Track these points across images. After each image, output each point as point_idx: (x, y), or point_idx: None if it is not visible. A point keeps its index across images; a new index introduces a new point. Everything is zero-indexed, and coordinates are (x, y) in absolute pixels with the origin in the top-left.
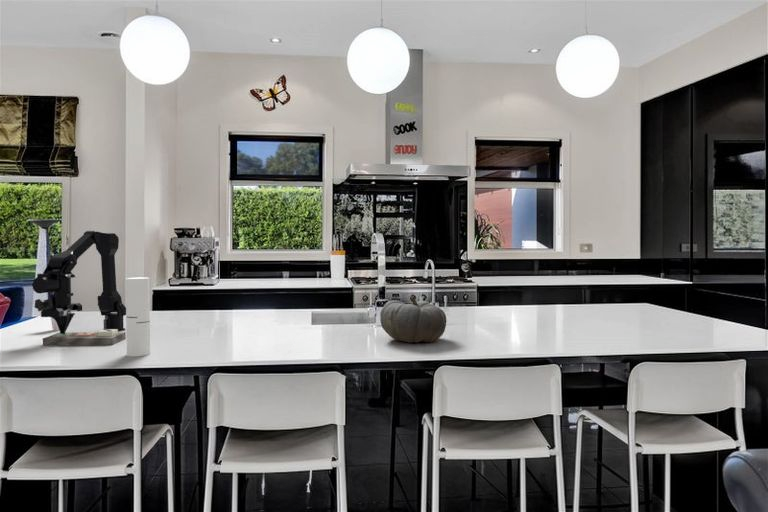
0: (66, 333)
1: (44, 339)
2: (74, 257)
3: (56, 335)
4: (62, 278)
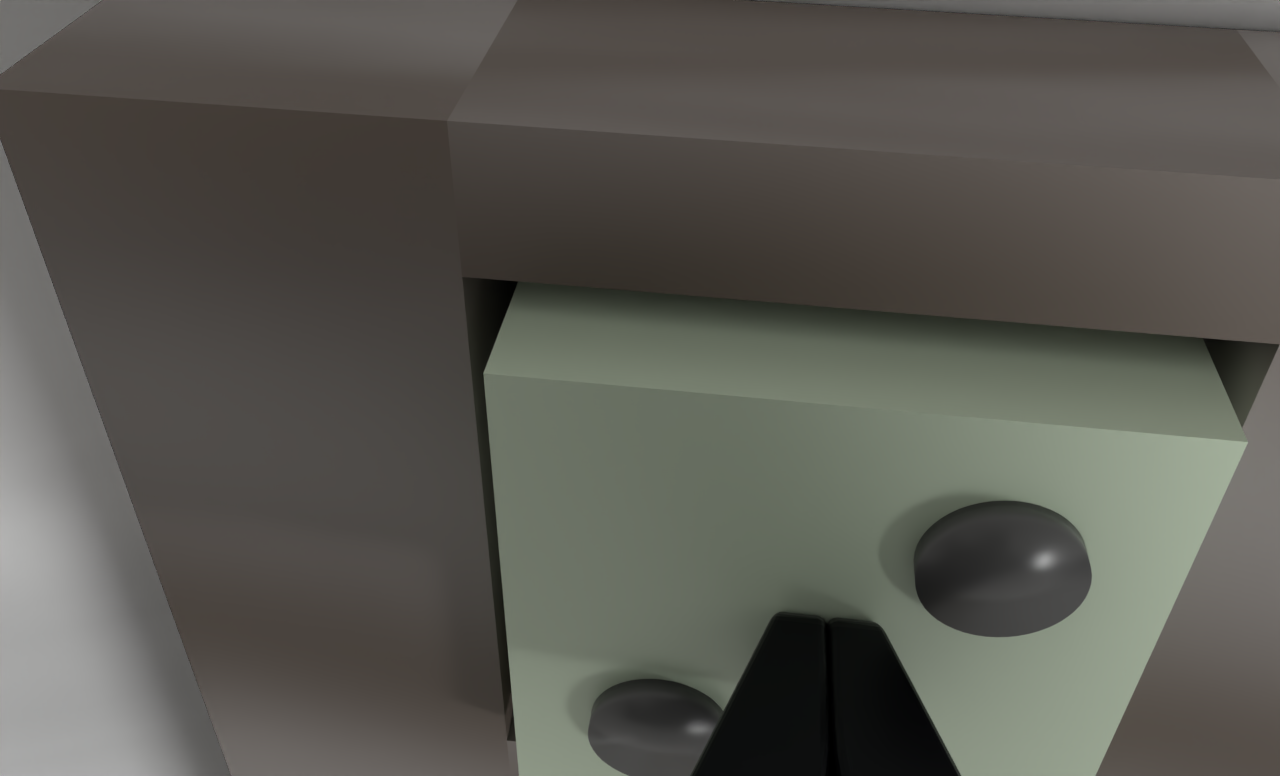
0: None
1: (35, 149)
2: None
3: (499, 509)
4: None
